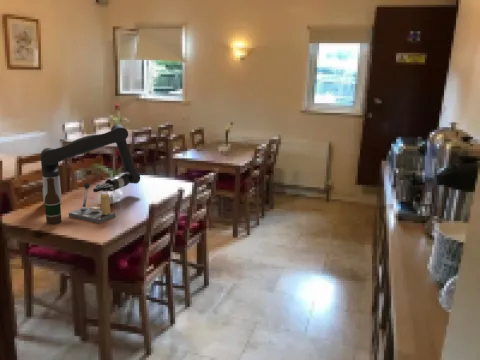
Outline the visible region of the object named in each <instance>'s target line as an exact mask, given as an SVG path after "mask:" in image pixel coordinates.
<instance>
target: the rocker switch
mask: <svg viewBox="0 0 480 360" xmlns="http://www.w3.org/2000/svg"><path fill="white" fill-rule="evenodd" d="M88 208H89V211H94V212H96V211H100V210H101V207H100V206H99V207H98V206H91V207H88Z"/></svg>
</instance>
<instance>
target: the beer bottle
mask: <svg viewBox="0 0 480 360" xmlns="http://www.w3.org/2000/svg"><path fill="white" fill-rule="evenodd" d="M44 211H45V219H46V224H47V225H58V224H61V223H62V210H61V204H60V199H59V196H58V195H57V193H56V192H55V186H54V178H47V194H46V196H45V204H44Z"/></svg>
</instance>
